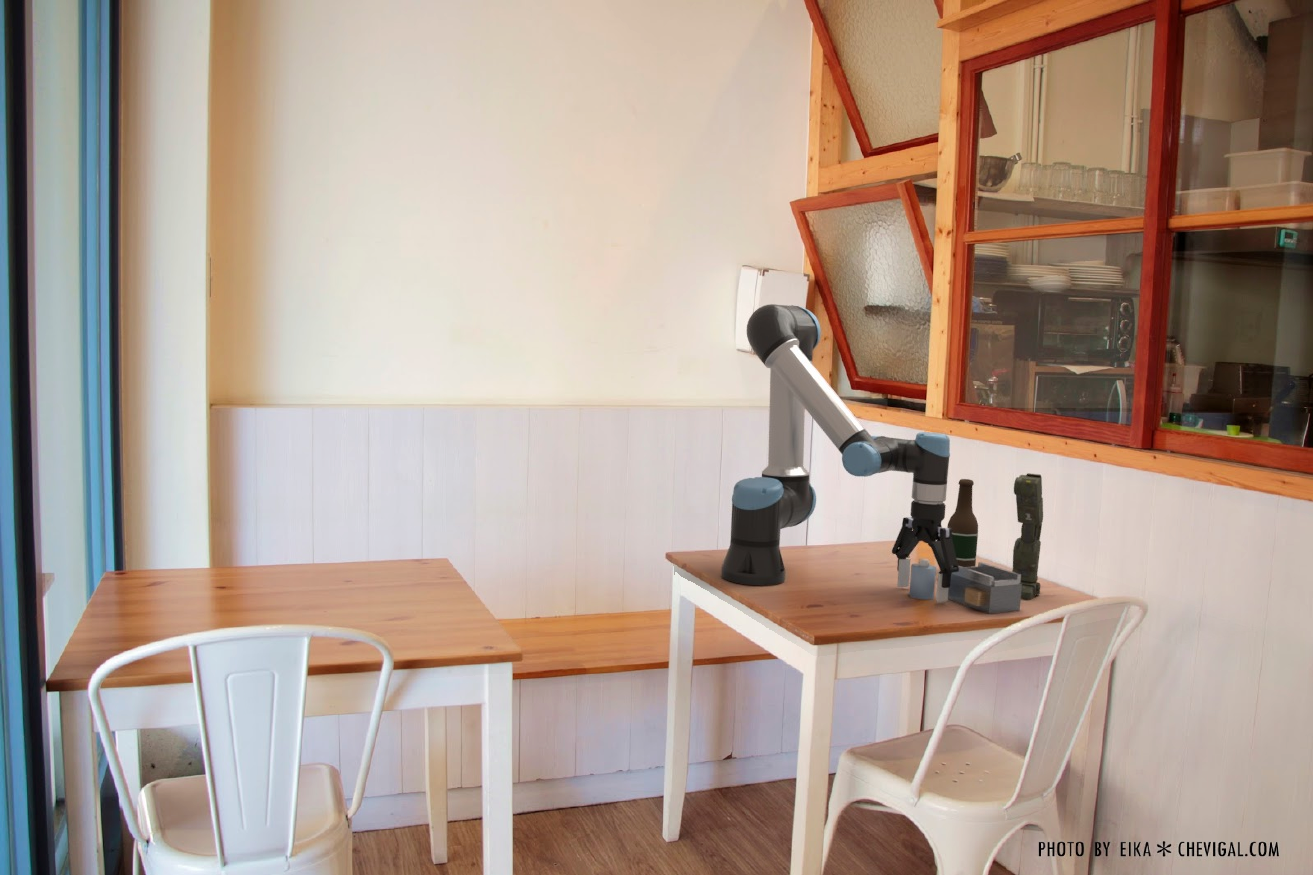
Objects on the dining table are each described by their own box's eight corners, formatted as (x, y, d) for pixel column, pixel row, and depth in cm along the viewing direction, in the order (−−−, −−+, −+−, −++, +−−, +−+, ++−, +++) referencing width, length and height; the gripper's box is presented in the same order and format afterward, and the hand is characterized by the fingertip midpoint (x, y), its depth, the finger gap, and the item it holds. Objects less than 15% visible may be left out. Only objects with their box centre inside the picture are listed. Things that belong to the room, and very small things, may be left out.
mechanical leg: (1015, 580, 257) (1019, 464, 247) (1046, 585, 253) (1051, 467, 244) (1002, 604, 246) (1005, 484, 236) (1034, 610, 242) (1038, 488, 233)
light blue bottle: (904, 594, 242) (906, 558, 241) (922, 592, 244) (925, 556, 243) (920, 600, 237) (922, 563, 236) (939, 598, 239) (941, 561, 238)
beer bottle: (953, 569, 269) (960, 476, 267) (981, 575, 264) (988, 480, 261) (937, 573, 264) (944, 478, 261) (965, 580, 258) (972, 483, 256)
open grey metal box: (934, 597, 240) (937, 562, 240) (971, 593, 245) (973, 559, 244) (981, 614, 227) (984, 578, 226) (1019, 610, 232) (1022, 574, 231)
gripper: (980, 510, 229) (972, 606, 231) (905, 491, 251) (899, 579, 253) (953, 511, 226) (946, 609, 228) (880, 492, 247) (874, 581, 250)
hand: (921, 593), depth 241 cm, fingers open, 12 cm apart
